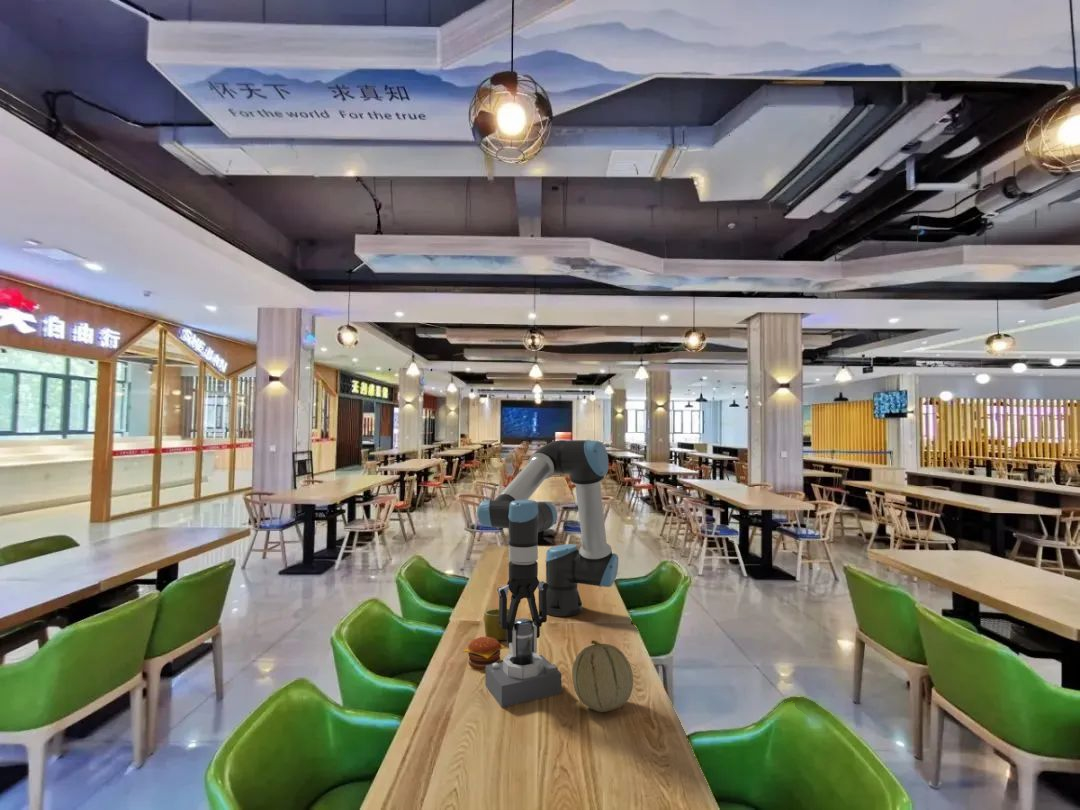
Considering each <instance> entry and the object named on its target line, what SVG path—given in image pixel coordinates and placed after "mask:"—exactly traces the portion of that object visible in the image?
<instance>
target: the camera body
mask: <svg viewBox="0 0 1080 810" xmlns="http://www.w3.org/2000/svg"><path fill="white" fill-rule="evenodd" d="M485 687H486V688H487V689H488V691H489V692H490V693H491V695H492V696H493V698H494V699H495V701H496V702H497V703H498V704H499V706H500V707H501V708H506V707H511V706H514V705H519V704H521V703H522V704H523V703H526V702H531V701H535V700H539V699H544V698H548V697H553V696H558V695H562V673H561V671H559V667H558V666H557V665H556V664H554V663H551V662H550V661H549V660H547V658H546V657H544V656H543V655H542V654H538V653H533V663H532V664H528V665H523V666H522V665H516V664H514V663H513V657H512V655H511V654H510V653H508V654H507V655H505V657H504V658H503V659H502V662H500V663H493V664H491V665H486V669H485Z"/></svg>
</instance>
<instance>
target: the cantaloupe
mask: <svg viewBox="0 0 1080 810" xmlns="http://www.w3.org/2000/svg"><path fill="white" fill-rule="evenodd" d="M590 643H591V644H592V645H589V646H586V647H584V648H583V649H582V650H581V651H580V652H579V653H578V654H577V655H576V657H575V660H574V663H573V665H572V671H571V676H572V678H571V679H572V686H573V689H574V691H575V694H576V696H577V698H578V699H579V700H580V702H581V703H582V704H583V705H585V707H588V709H591V710H592V711H596V712H599V713H605V712H611V711H613V710H617V709H619V708H621V707H622V706H624V705H625V704H626V703H627V702H628V701H629V699H630V697H631V695H632V691H633V688H634V675H633V671H632V670H633V669H632V667H631V663H630V662H629V659H627V657H626V656H625V654H624V652H623V651H621V650H620V649H619V648H618V647H616V646H615V645H611V644H607V643H599V641H597V640H593V639H592V640H591V642H590Z"/></svg>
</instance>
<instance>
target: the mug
mask: <svg viewBox="0 0 1080 810" xmlns="http://www.w3.org/2000/svg"><path fill="white" fill-rule="evenodd" d="M508 612H509V608H507V616H508ZM483 621H484V633H485V637H491V638H495V639H496V640H497V641H498V642H501V641H506V629H502V628H501V627H500V626H499V607H498V608H495V609H489V610H486V611H485V612H484V615H483Z"/></svg>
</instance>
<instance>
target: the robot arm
mask: <svg viewBox="0 0 1080 810" xmlns="http://www.w3.org/2000/svg"><path fill="white" fill-rule="evenodd" d="M608 471H609V456H608V451H607V448H606V446H605V445H604V444H603V443H602V442H601V441H598V440H590V439H587V440H583V439H582V440H581V439H580V440H579V439H578V440H576V439H573V440H572V439H570V440H569V439H568V440H564V439H559V440H555V441H551V442H549V443H546V444H545V445H543V446H542V447H540V448H538V449H537V450H536V451H535V452H534V453H532V455H530V457H529V458H528V460H527V464H526V466H525V467H523V468H522V470H521V471H519V473H518V474H517V475H516V476H515V477H514V478H513V479H512V480H511V481H510V483H508V485H507V486H506V487H505V488H504V489H503V490H502V491H501V492H500V493H499V494H498V496H497V497H496V498H494V499H493V500H492V499H485V500H483V501H481V502H480V503H479V505H478V508H477V519H478V522H479V524H480V525H481V526H483V527H490V528H492V529H493V528H497V529H498V528H499V529H508V560H509V562H508V580H507V583H506V585H504V586H502V587H500V586H499V587H497V589H496V591H497V594H498V608H499V626H500V627H501V628H502V629H506V640H505V641H506V642H507V643H508V644H509V645H508V647H509V648H508V654H511V655H512V657H516V630H515V629H514V628H513V627H514V623H515V620H516V618H517V613H518V609H519V606H520V604H521V601H522V600H523V599H527V603H528V608H529V612H530V615H531V620H532V621H533V653H536V654H538V652H537V651H538V650H537V649H538V644H537V643H538V639H539V638H540V636H541V634H540V633H541V630H540V629H541V627H542V624H543V623H546V622H548V618H547V617H548V616H552V617H573V616H577V615H579V614H581V613H582V611H583V602H582V599H581V595H580V592H579V590H578V584H579V585H588V586H596V587H599V588H602V587H604V588H605V587H606V588H610V587H612V586H613V585H614V583H615V581H616V578H617V574H618V570H619V555H618V554H617V553H614V552H613V551H612V547H611V545H610V544H609V543H607V535H606V534H607V533H606V526H605V515H604V505H603V504H604V503H603V498H602V497H603V496H602V487H601V483H602V482H603V481H604V479H605V476H606V475H607V474H608ZM558 474H559V475H560V474H561V475H562V474H563V475H569V477H570V478H569V479H570V482H571V483H572V484H573V485H575V493H576V502H577V509H578V517H579V519H578V520H579V526H580V535H581V544H582V545H581V546H580V548H579V547H578V546H577V544H571V543H569V544H568V543H567V544H558V545H554V546H551V547H549V548H547V550H546V552H545V554H546V555H545V581H543V580H541V581H540V580H539V579H538V573H539V572H538V571H539V568H538V567H539V566H538V565H539V563H538V560H539V555H538V553H539V552H538V551H539V548H538V547H539V545H538V543H539V541H538V540H539V533H541V532H544V531H547V530H549V529H550V528H552V527H553V526H554V525H555V524H556V523H557V519H558V510H557V508H556V506H554V505H553V504H552V503H551V502H548V501H539V502H537V501H536V500H532V499H530V497H531V496H532V495H533V494H534V493H535V492H536V490H537V489H538V488H539V487H540V486H541V484H542V483H543V482H544V481H545V480H547V479H550V478H551V477H552V476H553V475H558ZM537 589H538V607H537V602H536V596H535V591H536V590H537ZM509 591H510V593H511V597H510V603H509V608H508V594H509ZM507 609H509V612H508V616H507ZM547 615H548V616H547Z"/></svg>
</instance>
